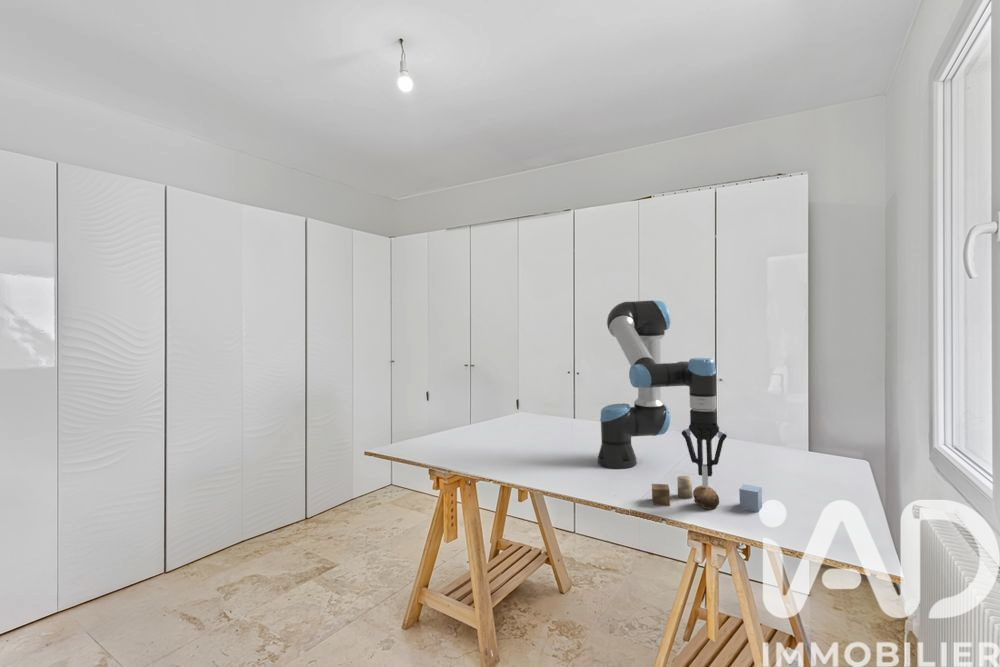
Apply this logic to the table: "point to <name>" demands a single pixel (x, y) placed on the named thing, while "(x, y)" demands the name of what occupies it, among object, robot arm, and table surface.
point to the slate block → (750, 498)
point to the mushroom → (706, 497)
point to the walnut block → (661, 494)
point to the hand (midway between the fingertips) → (705, 486)
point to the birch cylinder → (684, 487)
